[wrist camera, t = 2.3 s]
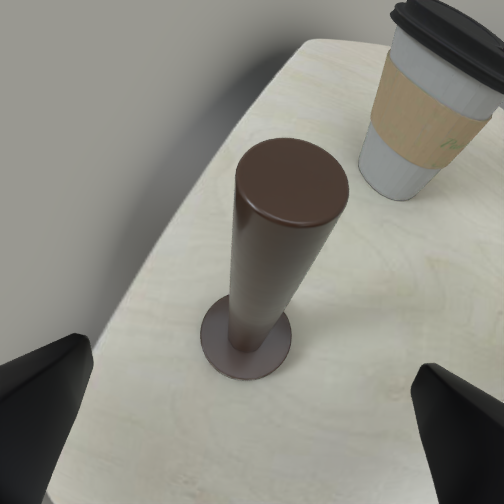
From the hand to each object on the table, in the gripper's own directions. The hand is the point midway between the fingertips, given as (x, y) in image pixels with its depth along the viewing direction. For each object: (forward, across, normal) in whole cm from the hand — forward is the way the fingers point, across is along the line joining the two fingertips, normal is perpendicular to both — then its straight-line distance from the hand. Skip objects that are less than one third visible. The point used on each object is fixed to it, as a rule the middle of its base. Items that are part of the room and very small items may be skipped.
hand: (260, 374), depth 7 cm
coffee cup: (+20, -11, -5) cm, 23 cm away
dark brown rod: (+9, 0, +5) cm, 11 cm away
